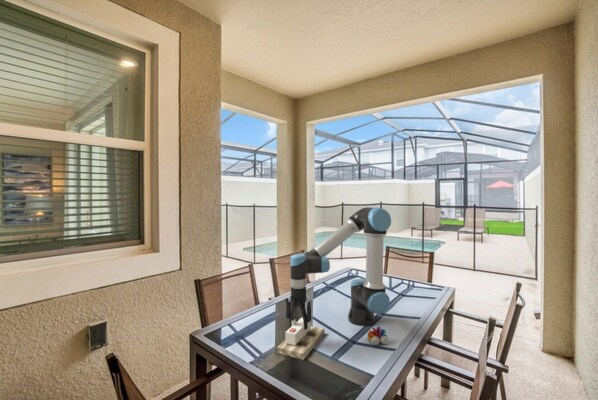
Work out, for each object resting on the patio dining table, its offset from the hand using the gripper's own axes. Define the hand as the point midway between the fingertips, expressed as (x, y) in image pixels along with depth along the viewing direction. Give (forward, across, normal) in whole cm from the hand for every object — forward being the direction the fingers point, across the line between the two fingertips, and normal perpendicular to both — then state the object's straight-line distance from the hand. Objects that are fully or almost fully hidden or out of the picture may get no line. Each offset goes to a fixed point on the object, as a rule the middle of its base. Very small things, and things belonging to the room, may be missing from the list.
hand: (298, 334), depth 136 cm
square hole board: (+4, -2, 0) cm, 4 cm away
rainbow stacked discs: (+4, -35, -16) cm, 39 cm away
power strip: (+3, 0, 0) cm, 3 cm away
